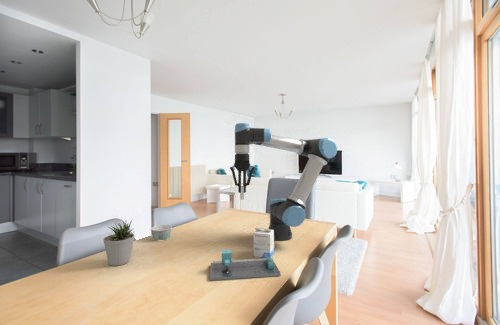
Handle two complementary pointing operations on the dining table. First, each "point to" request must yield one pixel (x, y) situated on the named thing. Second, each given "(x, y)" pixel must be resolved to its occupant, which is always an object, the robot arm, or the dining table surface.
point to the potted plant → (119, 245)
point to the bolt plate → (244, 269)
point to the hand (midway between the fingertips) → (242, 199)
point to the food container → (161, 232)
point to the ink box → (263, 243)
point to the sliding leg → (227, 258)
